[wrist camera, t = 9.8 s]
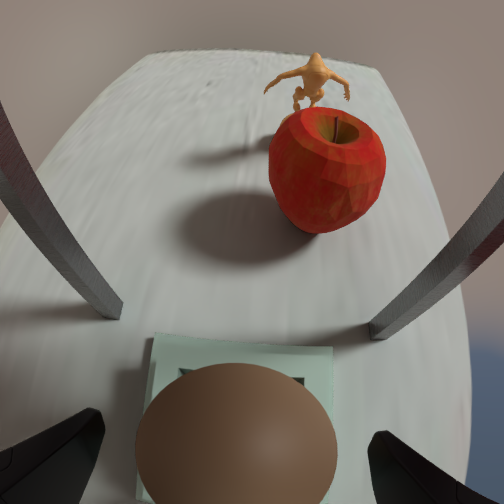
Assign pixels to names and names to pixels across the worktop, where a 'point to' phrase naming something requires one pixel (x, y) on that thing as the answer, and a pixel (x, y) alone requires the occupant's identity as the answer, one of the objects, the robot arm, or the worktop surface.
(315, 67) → the figurine
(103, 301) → the grey table frame
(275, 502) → the peg
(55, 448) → the robot arm
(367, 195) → the apple
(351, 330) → the worktop surface
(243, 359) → the socket block
